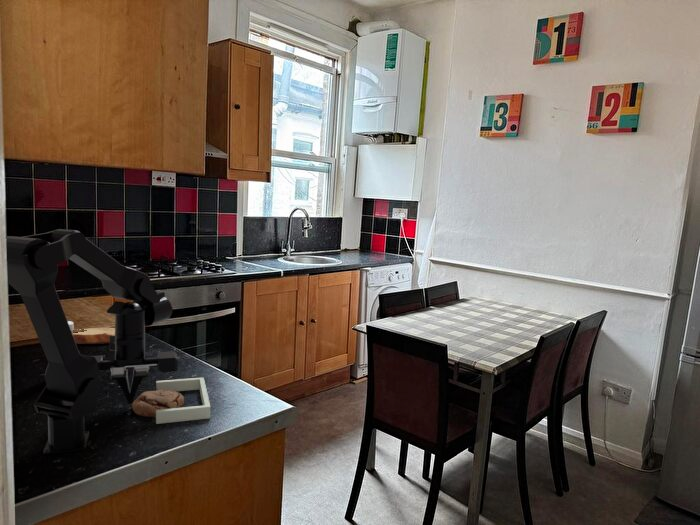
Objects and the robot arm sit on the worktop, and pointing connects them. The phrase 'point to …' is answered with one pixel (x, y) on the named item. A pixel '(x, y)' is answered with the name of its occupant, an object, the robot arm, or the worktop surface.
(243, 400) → the worktop surface
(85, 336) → the slice of bread
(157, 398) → the cookie
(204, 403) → the box
